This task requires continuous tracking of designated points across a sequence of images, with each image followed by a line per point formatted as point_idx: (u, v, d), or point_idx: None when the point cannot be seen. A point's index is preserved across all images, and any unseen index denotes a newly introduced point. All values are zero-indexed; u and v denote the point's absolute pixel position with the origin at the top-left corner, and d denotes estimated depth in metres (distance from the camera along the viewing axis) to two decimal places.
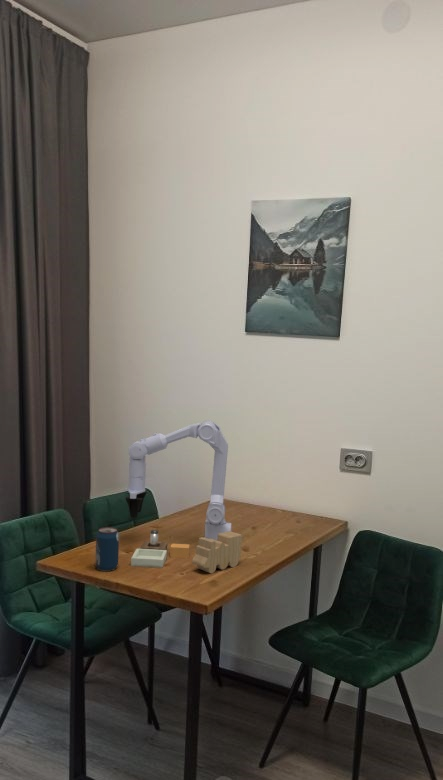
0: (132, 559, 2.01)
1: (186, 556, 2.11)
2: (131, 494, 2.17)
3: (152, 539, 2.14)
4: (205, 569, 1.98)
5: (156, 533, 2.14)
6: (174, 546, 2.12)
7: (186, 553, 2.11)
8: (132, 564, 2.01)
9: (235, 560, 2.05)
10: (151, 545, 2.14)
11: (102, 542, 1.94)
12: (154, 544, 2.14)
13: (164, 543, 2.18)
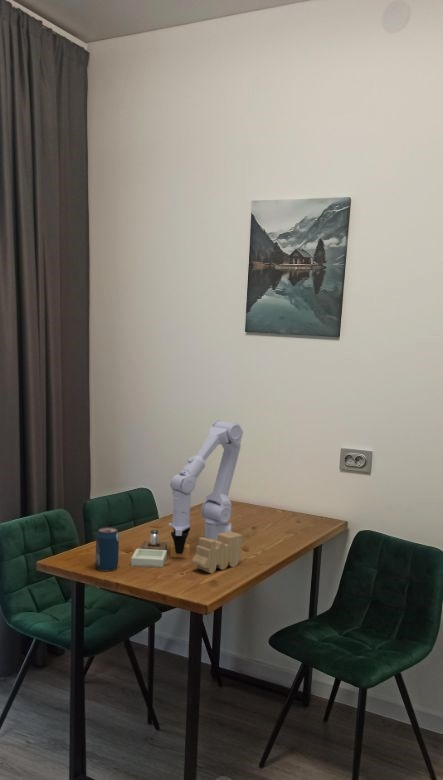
0: (132, 559, 2.01)
1: (186, 555, 2.11)
2: (177, 531, 2.06)
3: (152, 539, 2.14)
4: (205, 569, 1.98)
5: (156, 533, 2.14)
6: (174, 545, 2.12)
7: (186, 552, 2.11)
8: (132, 564, 2.01)
9: (235, 560, 2.05)
10: (151, 545, 2.14)
11: (102, 542, 1.94)
12: (154, 544, 2.14)
13: (164, 543, 2.18)
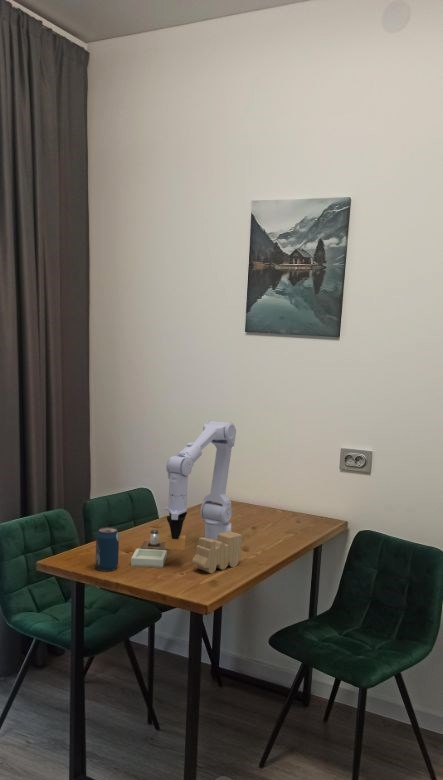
0: (132, 559, 2.01)
1: (182, 547, 2.01)
2: (173, 515, 1.96)
3: (152, 539, 2.14)
4: (205, 569, 1.98)
5: (156, 533, 2.14)
6: (169, 537, 2.02)
7: (182, 544, 2.01)
8: (132, 564, 2.01)
9: (235, 560, 2.05)
10: (151, 545, 2.14)
11: (102, 542, 1.94)
12: (154, 544, 2.14)
13: (164, 543, 2.18)
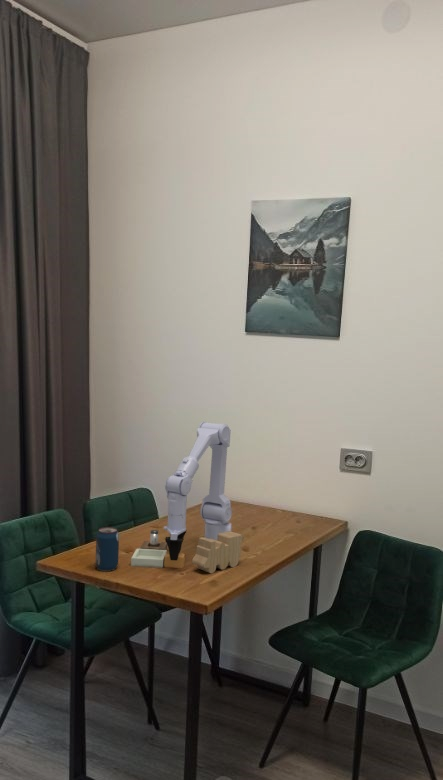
0: (132, 559, 2.01)
1: (181, 566, 2.01)
2: (172, 535, 1.95)
3: (152, 539, 2.14)
4: (205, 569, 1.98)
5: (156, 533, 2.14)
6: (168, 555, 2.02)
7: (181, 563, 2.01)
8: (132, 564, 2.01)
9: (235, 560, 2.05)
10: (151, 545, 2.14)
11: (102, 542, 1.94)
12: (154, 544, 2.14)
13: (164, 543, 2.18)
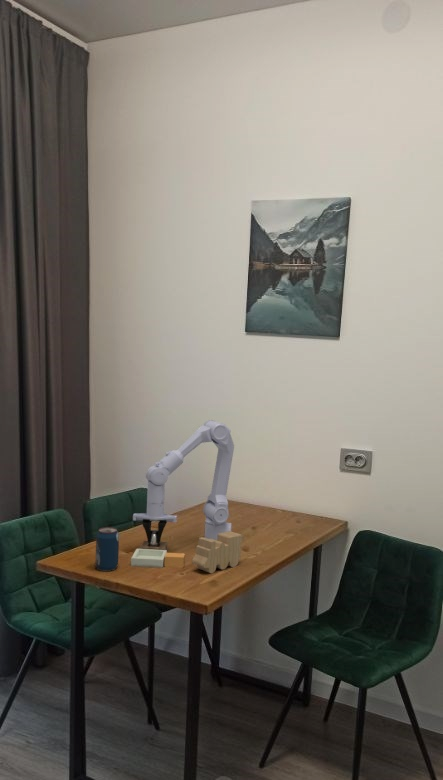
0: (132, 559, 2.01)
1: (181, 566, 2.01)
2: None
3: (152, 538, 2.14)
4: (205, 569, 1.98)
5: (156, 533, 2.14)
6: (169, 555, 2.02)
7: (181, 563, 2.01)
8: (132, 564, 2.01)
9: (235, 560, 2.05)
10: (151, 545, 2.14)
11: (102, 542, 1.94)
12: (154, 544, 2.14)
13: (164, 543, 2.18)
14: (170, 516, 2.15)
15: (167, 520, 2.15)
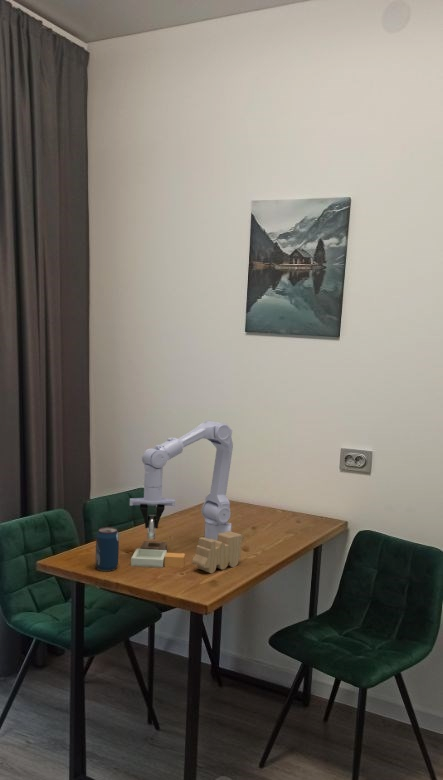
0: (132, 559, 2.01)
1: (181, 566, 2.01)
2: None
3: (150, 524, 2.07)
4: (205, 569, 1.98)
5: (154, 518, 2.07)
6: (169, 555, 2.02)
7: (181, 563, 2.01)
8: (132, 564, 2.01)
9: (235, 560, 2.05)
10: (149, 531, 2.07)
11: (102, 542, 1.94)
12: (152, 530, 2.07)
13: (164, 543, 2.18)
14: (168, 500, 2.08)
15: (165, 504, 2.08)
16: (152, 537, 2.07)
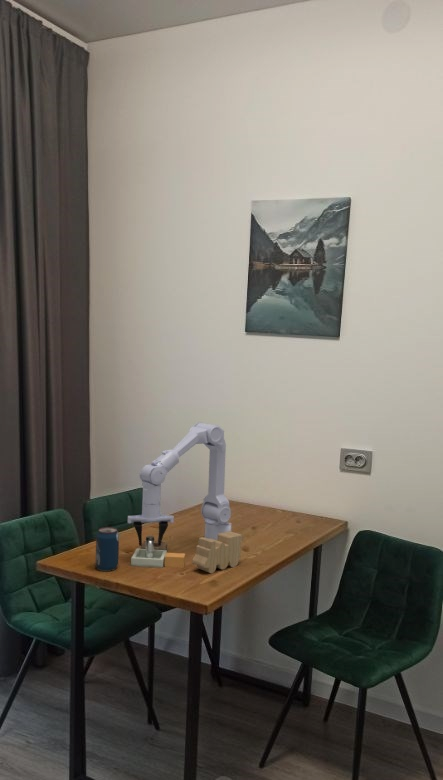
0: (132, 559, 2.01)
1: (181, 566, 2.01)
2: None
3: (149, 545, 2.04)
4: (205, 569, 1.98)
5: (152, 539, 2.05)
6: (169, 555, 2.02)
7: (181, 563, 2.01)
8: (132, 564, 2.01)
9: (235, 560, 2.05)
10: (147, 552, 2.04)
11: (102, 542, 1.94)
12: (151, 551, 2.04)
13: (164, 543, 2.18)
14: (167, 516, 2.06)
15: (164, 521, 2.05)
16: None
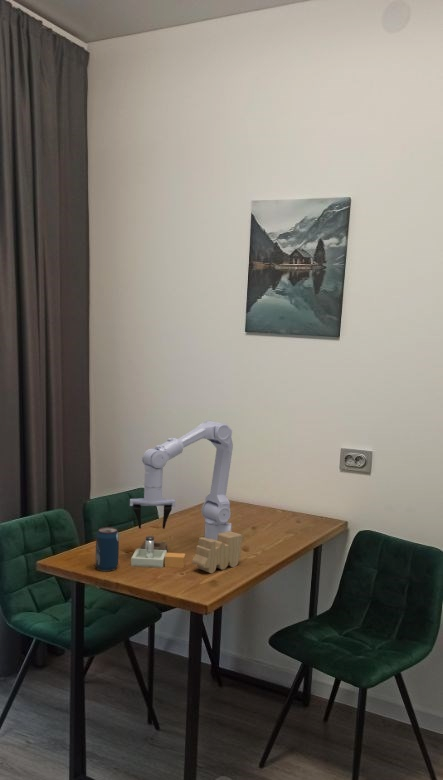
0: (132, 559, 2.01)
1: (181, 566, 2.01)
2: (130, 500, 2.07)
3: (149, 546, 2.04)
4: (205, 569, 1.98)
5: (152, 539, 2.04)
6: (169, 555, 2.02)
7: (181, 563, 2.01)
8: (132, 564, 2.01)
9: (235, 560, 2.05)
10: (147, 552, 2.04)
11: (102, 542, 1.94)
12: (151, 551, 2.04)
13: (164, 543, 2.18)
14: (168, 500, 2.08)
15: (165, 504, 2.08)
16: None
